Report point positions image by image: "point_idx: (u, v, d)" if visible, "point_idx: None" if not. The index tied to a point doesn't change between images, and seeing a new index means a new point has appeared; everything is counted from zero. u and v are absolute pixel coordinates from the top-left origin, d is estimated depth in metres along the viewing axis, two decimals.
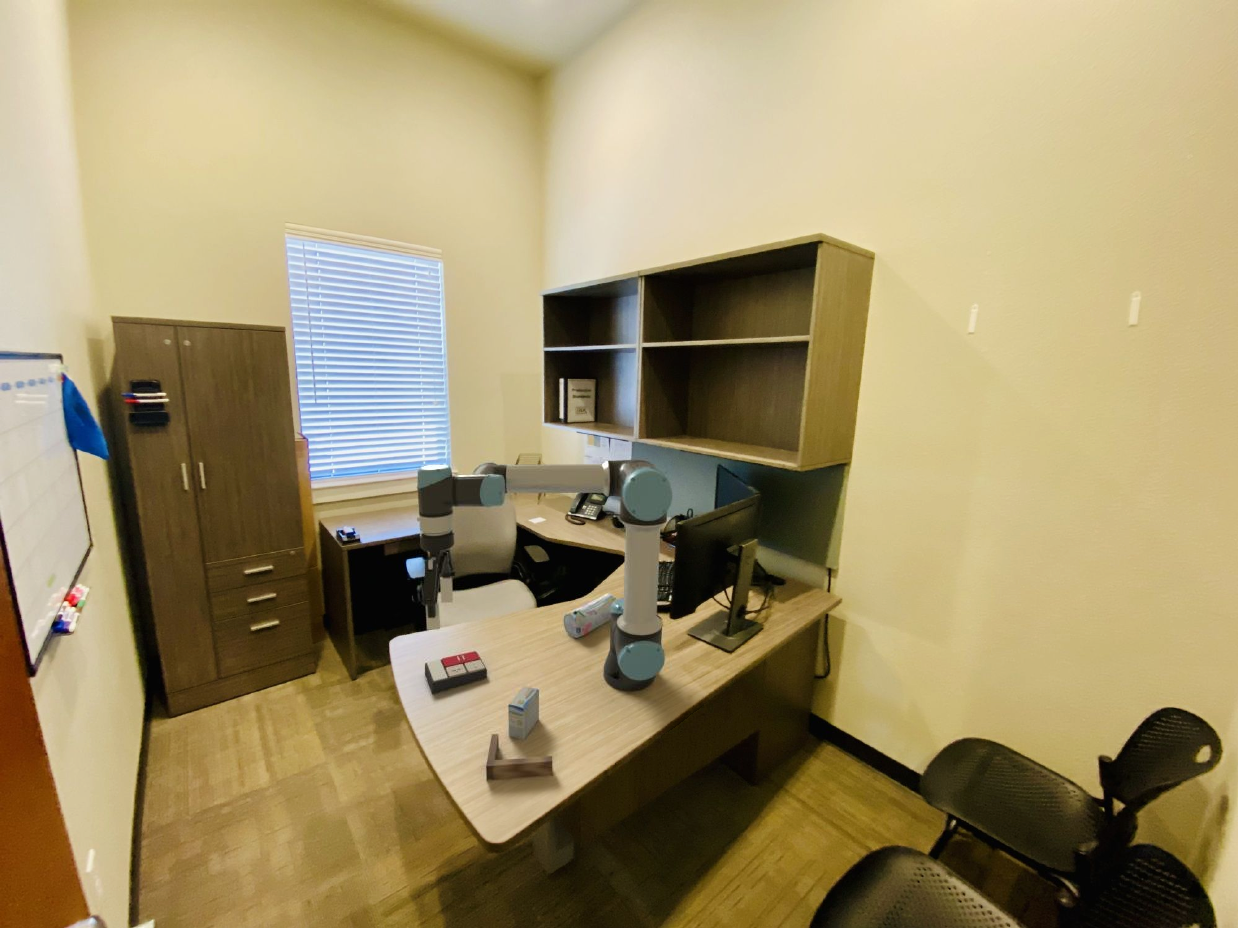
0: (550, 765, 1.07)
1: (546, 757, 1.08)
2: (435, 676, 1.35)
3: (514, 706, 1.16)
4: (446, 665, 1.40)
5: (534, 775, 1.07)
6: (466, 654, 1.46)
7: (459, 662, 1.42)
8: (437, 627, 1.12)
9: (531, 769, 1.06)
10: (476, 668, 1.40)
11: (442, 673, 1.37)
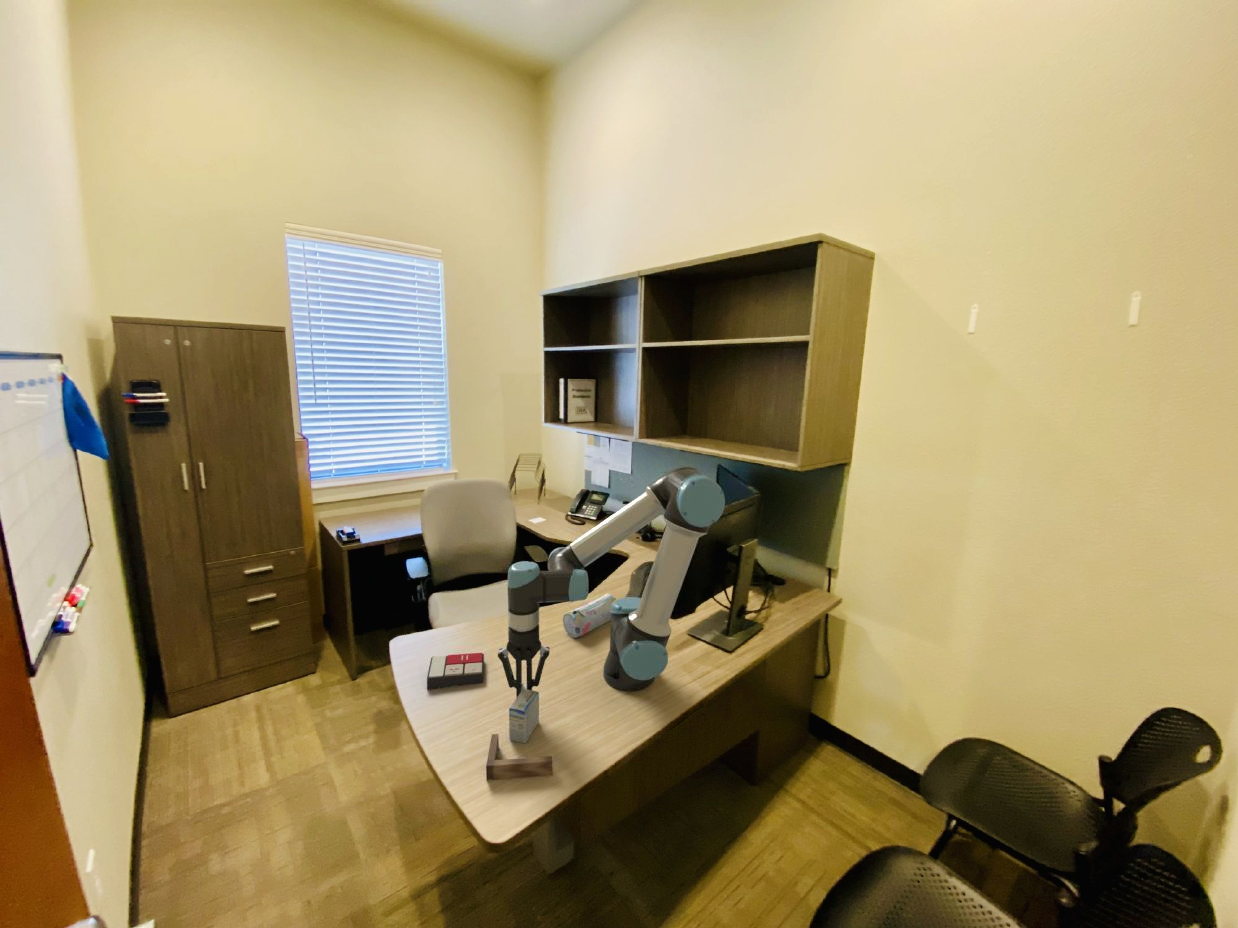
0: (550, 765, 1.07)
1: (546, 757, 1.08)
2: (433, 672, 1.37)
3: (515, 709, 1.15)
4: (448, 663, 1.41)
5: (534, 775, 1.07)
6: (472, 654, 1.46)
7: (461, 662, 1.42)
8: None
9: (531, 769, 1.06)
10: (473, 671, 1.38)
11: (440, 670, 1.38)
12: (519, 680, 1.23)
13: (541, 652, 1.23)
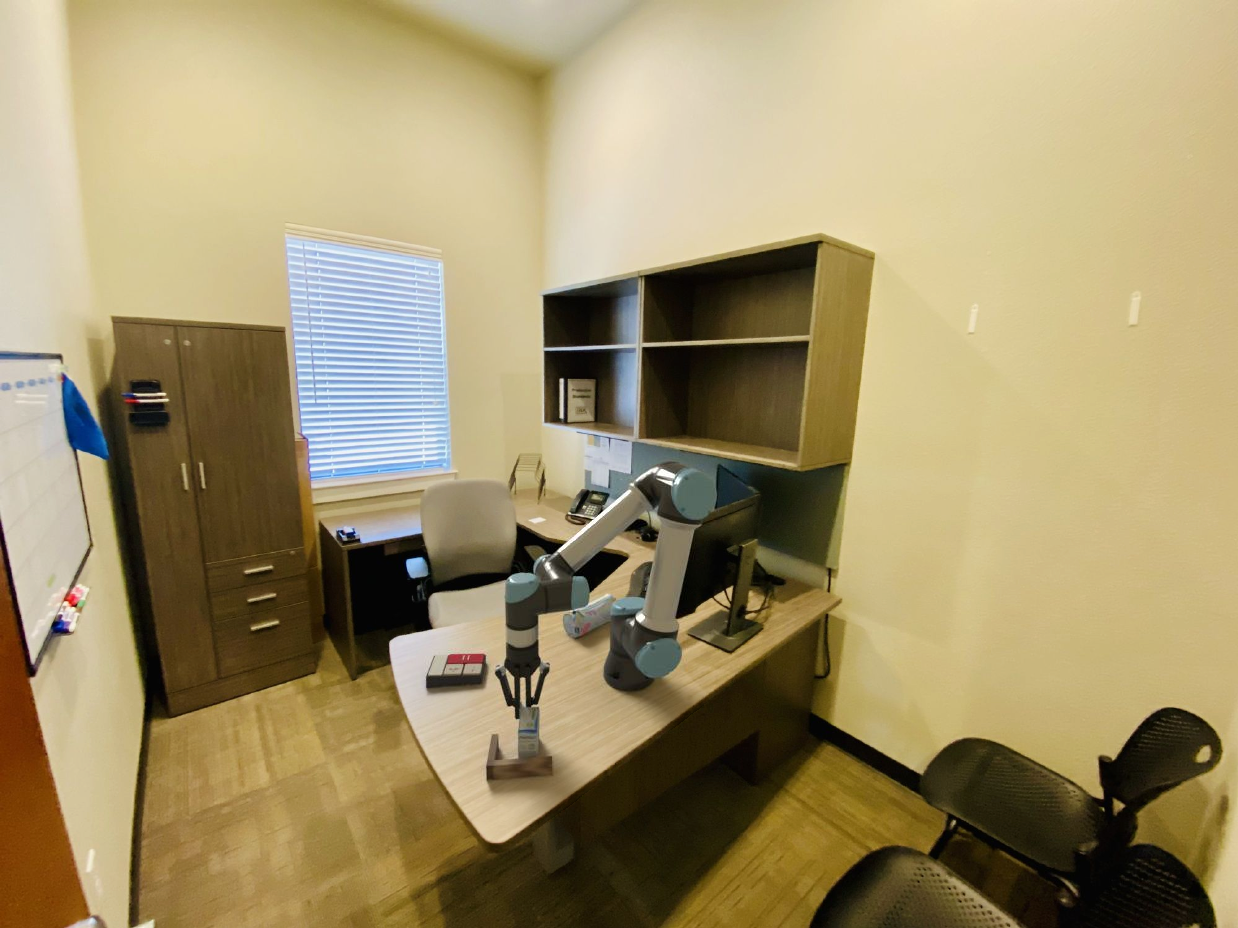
0: (550, 765, 1.07)
1: (546, 757, 1.08)
2: (432, 670, 1.38)
3: (525, 730, 1.09)
4: (448, 662, 1.42)
5: (534, 775, 1.07)
6: (473, 655, 1.46)
7: (461, 661, 1.42)
8: None
9: (531, 769, 1.06)
10: (472, 672, 1.38)
11: (440, 669, 1.38)
12: (518, 698, 1.16)
13: (541, 669, 1.16)
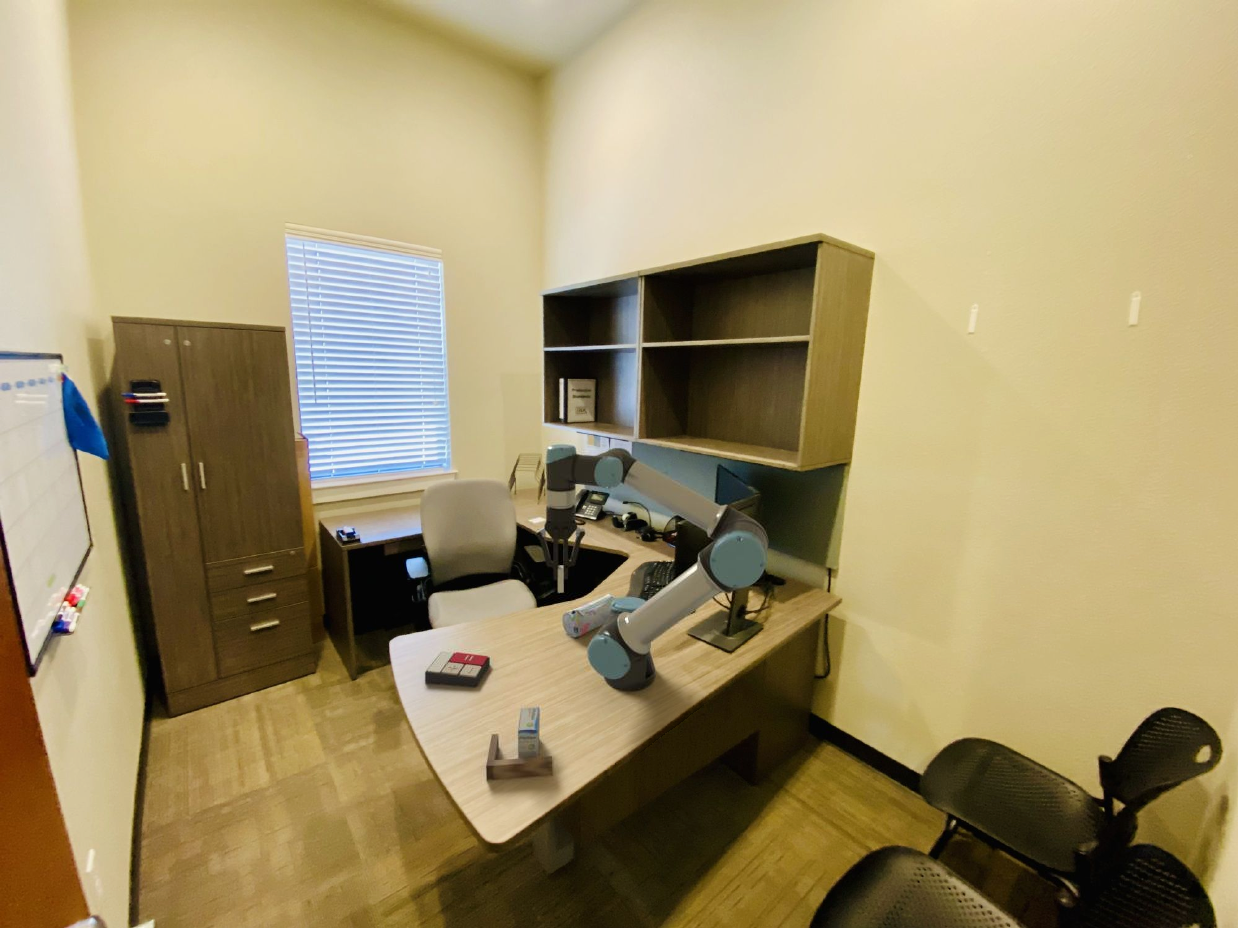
0: (550, 765, 1.07)
1: (546, 757, 1.08)
2: (433, 667, 1.39)
3: (525, 730, 1.09)
4: (451, 660, 1.43)
5: (534, 775, 1.07)
6: (477, 656, 1.46)
7: (463, 661, 1.42)
8: None
9: (531, 769, 1.06)
10: (468, 673, 1.37)
11: (440, 666, 1.40)
12: (556, 559, 1.28)
13: (577, 532, 1.28)
